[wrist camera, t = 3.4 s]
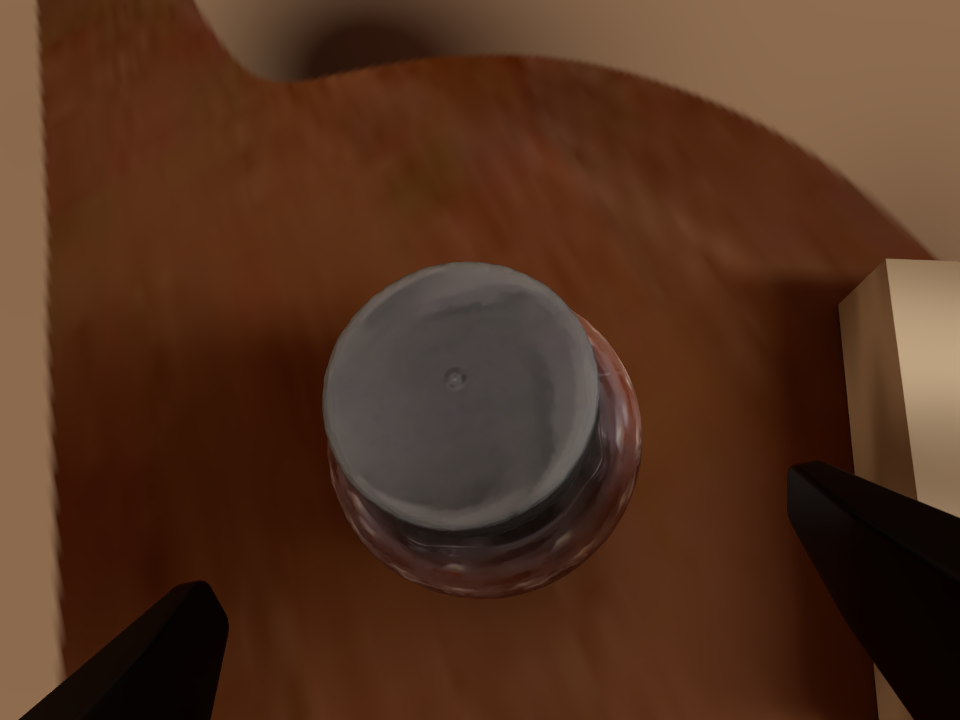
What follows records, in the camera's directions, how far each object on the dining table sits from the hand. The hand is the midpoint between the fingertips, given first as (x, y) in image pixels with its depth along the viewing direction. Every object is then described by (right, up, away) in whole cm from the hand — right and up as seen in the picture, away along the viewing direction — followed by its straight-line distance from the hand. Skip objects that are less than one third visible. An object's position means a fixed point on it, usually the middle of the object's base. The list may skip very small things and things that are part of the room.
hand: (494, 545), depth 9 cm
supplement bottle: (+1, -1, +10) cm, 10 cm away
